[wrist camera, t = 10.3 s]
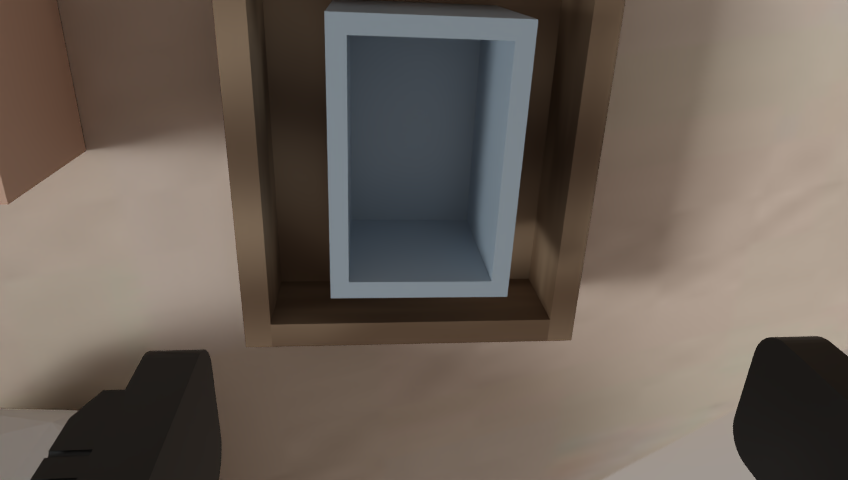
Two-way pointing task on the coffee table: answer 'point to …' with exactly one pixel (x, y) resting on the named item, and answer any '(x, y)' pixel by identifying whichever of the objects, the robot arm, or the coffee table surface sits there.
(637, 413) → the coffee table surface
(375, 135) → the blue-grey hollow box
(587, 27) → the walnut crate
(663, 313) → the coffee table surface
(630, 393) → the coffee table surface
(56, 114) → the terracotta crate
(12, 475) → the geometric orb
